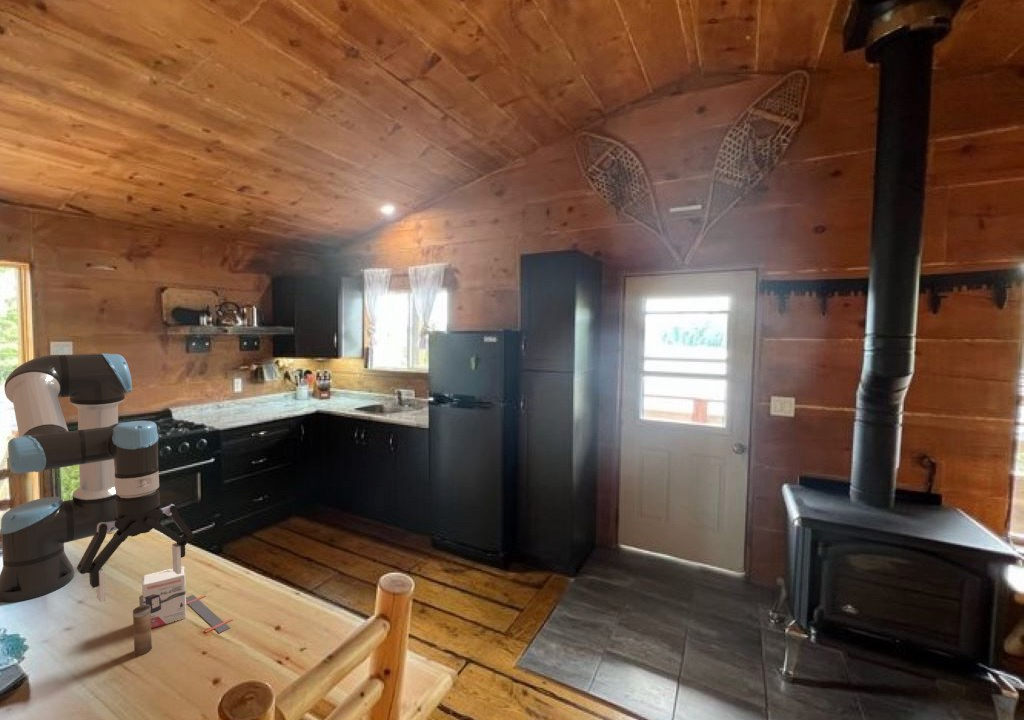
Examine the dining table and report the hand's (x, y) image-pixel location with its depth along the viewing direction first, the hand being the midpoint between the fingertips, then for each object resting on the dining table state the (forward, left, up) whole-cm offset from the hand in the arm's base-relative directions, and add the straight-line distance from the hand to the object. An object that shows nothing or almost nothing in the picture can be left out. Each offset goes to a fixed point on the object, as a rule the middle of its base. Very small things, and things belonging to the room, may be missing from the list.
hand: (141, 585), depth 101 cm
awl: (0, 0, -16) cm, 16 cm away
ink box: (-9, +7, -16) cm, 20 cm away
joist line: (-4, +14, -16) cm, 21 cm away
